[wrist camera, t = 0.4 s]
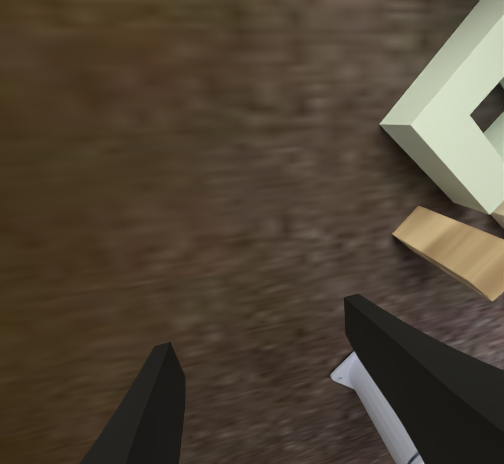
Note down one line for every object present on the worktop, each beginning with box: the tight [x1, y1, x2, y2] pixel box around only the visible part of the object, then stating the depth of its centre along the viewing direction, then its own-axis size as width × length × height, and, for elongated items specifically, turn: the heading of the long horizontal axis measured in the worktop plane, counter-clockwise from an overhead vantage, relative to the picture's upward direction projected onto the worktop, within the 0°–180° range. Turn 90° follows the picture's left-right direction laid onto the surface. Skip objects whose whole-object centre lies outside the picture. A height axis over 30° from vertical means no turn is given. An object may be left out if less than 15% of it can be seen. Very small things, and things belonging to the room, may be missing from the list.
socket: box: [380, 0, 504, 215], centre depth 17 cm, size 10×10×3 cm
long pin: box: [393, 206, 504, 302], centre depth 19 cm, size 3×3×7 cm
